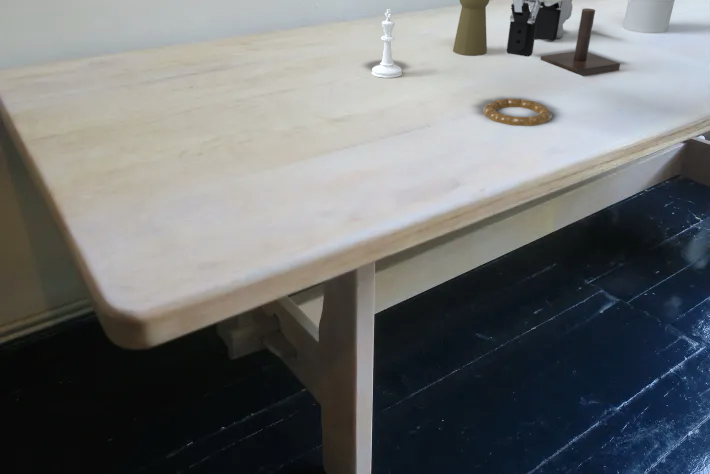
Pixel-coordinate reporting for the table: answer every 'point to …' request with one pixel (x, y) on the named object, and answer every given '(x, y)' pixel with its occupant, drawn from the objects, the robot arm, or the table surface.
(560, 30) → the round bodied animal figurine
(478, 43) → the olive tapered cylinder
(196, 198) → the table surface
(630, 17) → the cup
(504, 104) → the ring
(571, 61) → the wooden peg stand
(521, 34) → the robot arm
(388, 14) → the chess piece
